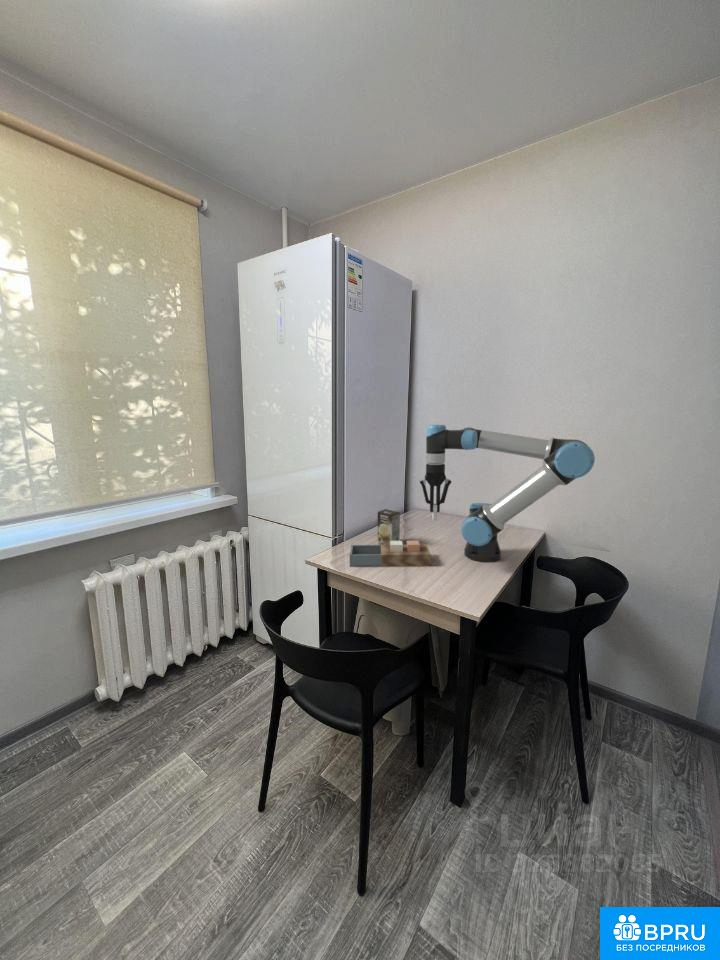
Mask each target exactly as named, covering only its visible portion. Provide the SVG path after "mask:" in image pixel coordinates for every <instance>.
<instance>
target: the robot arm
mask: <svg viewBox="0 0 720 960" xmlns="http://www.w3.org/2000/svg"><path fill="white" fill-rule="evenodd" d="M425 438H426V439H425V441H426V442H425V444H426V445H425V446H426V450H425V451H426V452H425V454H426V457H425V459H426V461H425V462H426V464H425V475H424V477H423V478H422V479H420V480H419V483H420V485H421V488H422V492H423V496H424V501H425V503H426V504H429V511H430V513H432V515H431V516H432V517H431V518H432V521H438V513H440V510H441V504H445V501H446V498H447V494H448V490H449V487H450V485H451V484H452V481H451V479H448V478H447V476H446V464H445V463H446V450H465V451H470V450H471V451H472V450H475V449H481V450H487V451H493V452H500V453H505V454H511V455H514V456H515V455H516V456H522V457H528V458H533V459H540V460H542V465H541V466H540V467H539V468H538V469H537V470H535V471H534V472H533V473H531V474H530V475H529V476H527V477H526V478H525V479H523V480H522V481H520V482H519V483H518V484H516V486H514V487H512V488H511V489H510V490H509V491H507V492H505V494H503V495H502V496H501V497H499V498H498V499H497V500H495V501H494V502H493V503H487V502H473V503H471V504H470V505H469V509H468V510H469V514H468V515H467V517H466V519H464V520H463V521H462V525H461V528H460V529H461V530H460V531H461V532H460V533H461V536H462V537H463V539H464V540H465V542H466V545H465V546H464V552H463V553H464V554H463V555H464V556H465V557H466V558H468V559H469V560H473V561H476V562H481V563H484V562H486V563H492V562H497V561H499V560H500V559H501V557H502V551H501V547H500V544H499V541H498V534H499V533H501V532H502V531H503V530H504V529H505V524H506V523H507V522H510V520H512V519H513V518H514V517H516V516H517V515H519V514H520V513H521V512H523V511H524V510H526V509H527V508H528V507H530V506H532V505H533V504H535V502H537V501H538V500H540V499H542V497H544V496H546V495H547V494H548V493H549V492H551V491H553V490H555V488H557V487H558V486H567V485H568V484H570V483H572V482H573V481H575V480H576V479H579V478H582V477H584V476H586V475H588V474H589V472H591V470H592V469H593V467H594V465H595V460H596V459H595V453H594V450H592V448H591V447H590V446H589V445H588V444H586V443H585V441H582V440H579V439H564V438H556V437H555V438H554V437H552V438H549V439H543V438H538V437H537V438H536V437H531V436H525V435H524V436H523V435H517V434H510V433H509V434H508V433H503V432H496V431H489V430H483V429H476V428H473V427H464V428H463V429H447V427H446V425H445V424H430V425H427V427H426V436H425ZM443 483H444V485H443V490H442V493H441V487H442V486H441V485H442V484H443ZM426 484H428V485H429V496H428V491H427V488H426V487H427V486H426ZM435 487H436V489H435ZM434 491H436V492H434ZM435 493H436V494H435ZM434 497H435V498H434ZM434 499H435V501H434ZM435 502H436V503H435Z"/></svg>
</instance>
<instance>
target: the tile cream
mask: <svg viewBox="0 0 720 960" xmlns="http://www.w3.org/2000/svg"><path fill="white" fill-rule="evenodd" d="M390 550H391V552H403V541H402V540H400V541H390Z"/></svg>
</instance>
